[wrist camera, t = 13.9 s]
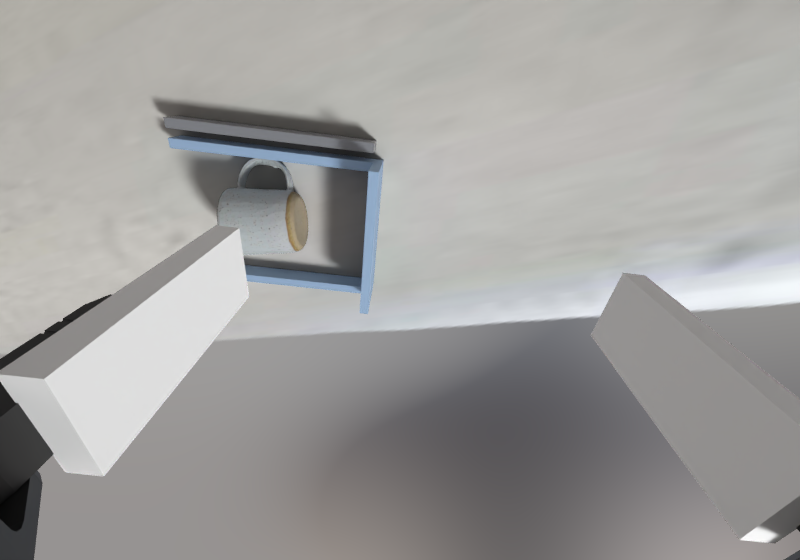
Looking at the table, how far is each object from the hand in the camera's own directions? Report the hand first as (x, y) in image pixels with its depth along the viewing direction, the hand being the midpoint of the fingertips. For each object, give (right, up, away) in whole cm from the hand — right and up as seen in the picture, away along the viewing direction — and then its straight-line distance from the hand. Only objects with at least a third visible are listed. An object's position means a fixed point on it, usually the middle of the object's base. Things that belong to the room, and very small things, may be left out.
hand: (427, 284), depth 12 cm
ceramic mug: (-17, +10, +29) cm, 35 cm away
